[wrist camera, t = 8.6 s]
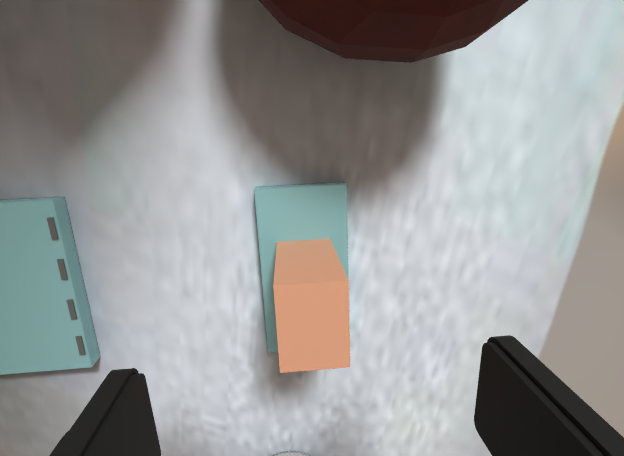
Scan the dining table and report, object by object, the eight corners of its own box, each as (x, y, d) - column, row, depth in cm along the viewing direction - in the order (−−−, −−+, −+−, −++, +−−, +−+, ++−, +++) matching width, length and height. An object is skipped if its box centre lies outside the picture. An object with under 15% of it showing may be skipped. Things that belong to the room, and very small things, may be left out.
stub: (255, 186, 20) (240, 212, 13) (343, 182, 20) (373, 205, 13) (268, 343, 22) (261, 433, 16) (346, 337, 23) (372, 422, 16)
